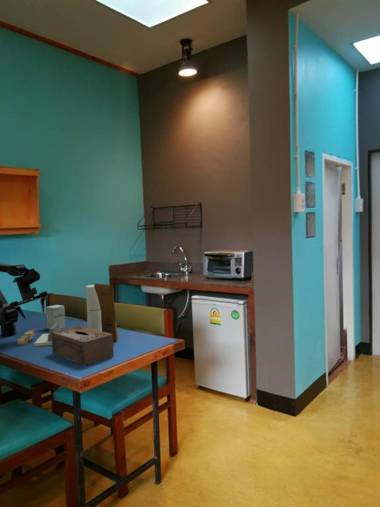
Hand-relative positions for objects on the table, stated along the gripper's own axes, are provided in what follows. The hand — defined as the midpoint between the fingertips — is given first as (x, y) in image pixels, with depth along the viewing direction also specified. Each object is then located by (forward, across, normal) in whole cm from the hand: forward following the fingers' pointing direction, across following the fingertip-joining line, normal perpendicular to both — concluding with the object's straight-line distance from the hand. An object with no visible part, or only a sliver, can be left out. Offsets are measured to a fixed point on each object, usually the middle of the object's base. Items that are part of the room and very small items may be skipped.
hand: (34, 316), depth 203 cm
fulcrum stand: (+16, +5, -4) cm, 17 cm away
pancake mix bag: (+25, +28, -14) cm, 40 cm away
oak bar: (+10, -7, +4) cm, 13 cm away
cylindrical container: (+19, +25, +1) cm, 32 cm away
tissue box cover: (+27, +10, -32) cm, 43 cm away
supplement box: (+9, +10, +20) cm, 24 cm away
